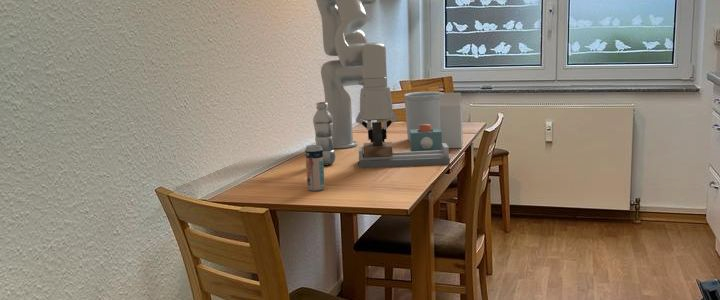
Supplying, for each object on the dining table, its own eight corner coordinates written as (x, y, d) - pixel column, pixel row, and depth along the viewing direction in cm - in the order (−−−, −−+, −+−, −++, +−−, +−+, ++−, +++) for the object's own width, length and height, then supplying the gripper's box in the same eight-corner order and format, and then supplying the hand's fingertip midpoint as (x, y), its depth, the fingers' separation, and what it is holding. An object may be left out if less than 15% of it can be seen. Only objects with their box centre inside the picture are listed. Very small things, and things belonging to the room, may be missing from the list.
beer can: (307, 188, 195) (304, 145, 193) (324, 187, 195) (322, 144, 193) (307, 192, 190) (304, 148, 188) (325, 191, 190) (322, 147, 188)
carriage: (363, 157, 221) (362, 125, 219) (364, 152, 229) (362, 121, 228) (392, 155, 220) (391, 124, 219) (392, 151, 229) (390, 120, 228)
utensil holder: (435, 143, 259) (434, 95, 256) (399, 141, 267) (397, 95, 264) (451, 137, 272) (450, 91, 269) (416, 136, 279) (414, 91, 276)
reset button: (420, 140, 235) (419, 125, 234) (419, 138, 239) (418, 124, 238) (432, 140, 235) (431, 125, 234) (431, 138, 239) (430, 123, 238)
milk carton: (461, 148, 246) (460, 93, 243) (440, 148, 248) (439, 94, 244) (462, 145, 253) (461, 91, 250) (442, 145, 254) (441, 92, 251)
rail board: (359, 168, 220) (358, 152, 219) (360, 160, 232) (359, 145, 231) (449, 164, 219) (449, 148, 218) (446, 157, 231) (445, 142, 230)
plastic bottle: (338, 162, 230) (335, 101, 227) (331, 167, 224) (327, 103, 220) (320, 162, 232) (316, 101, 229) (312, 166, 226) (308, 104, 222)
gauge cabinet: (411, 157, 234) (411, 133, 232) (410, 152, 242) (409, 129, 240) (442, 155, 233) (441, 131, 232) (440, 151, 242) (439, 128, 240)
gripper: (348, 85, 218) (351, 144, 221) (401, 83, 217) (404, 142, 220) (349, 83, 225) (352, 141, 228) (400, 81, 225) (403, 138, 228)
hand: (377, 141), depth 224 cm, fingers closed on carriage, 3 cm apart
